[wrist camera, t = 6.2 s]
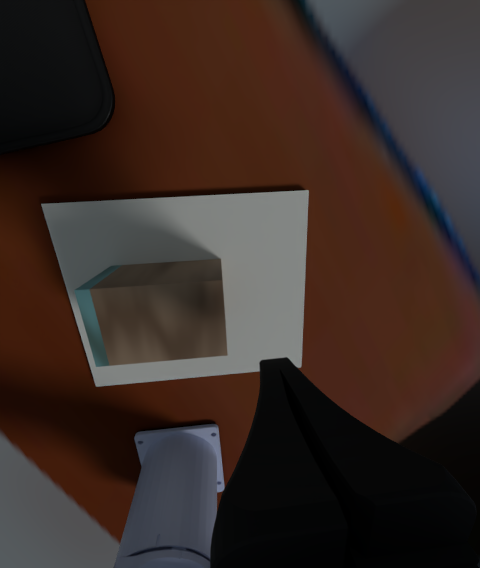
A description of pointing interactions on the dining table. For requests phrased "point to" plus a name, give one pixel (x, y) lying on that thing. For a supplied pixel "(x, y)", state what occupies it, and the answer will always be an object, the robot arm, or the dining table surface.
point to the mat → (198, 246)
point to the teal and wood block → (154, 312)
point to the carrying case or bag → (50, 74)
